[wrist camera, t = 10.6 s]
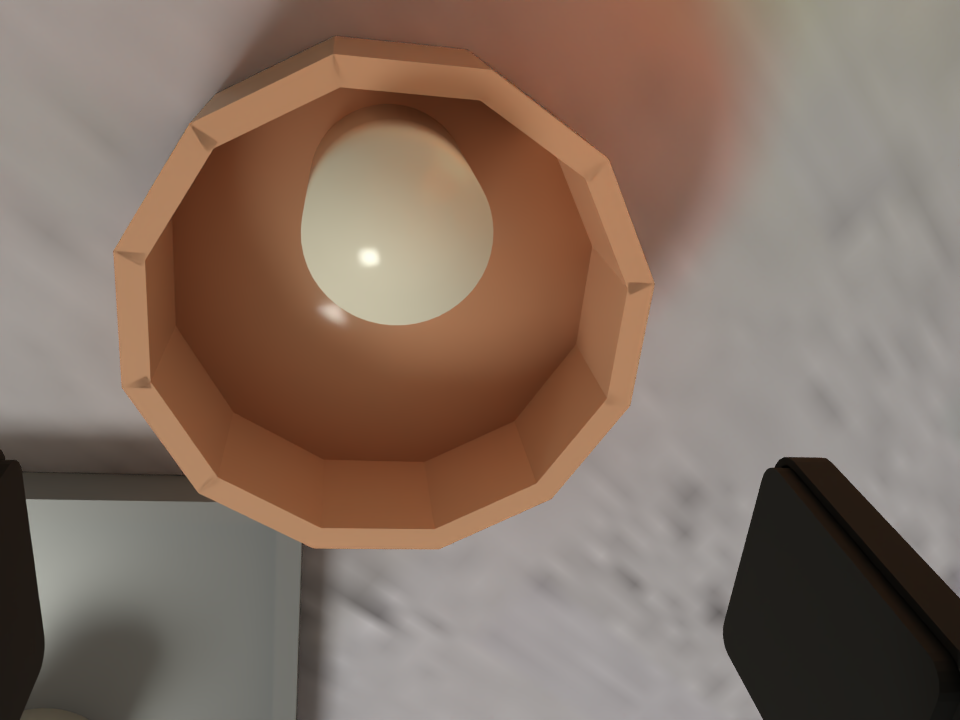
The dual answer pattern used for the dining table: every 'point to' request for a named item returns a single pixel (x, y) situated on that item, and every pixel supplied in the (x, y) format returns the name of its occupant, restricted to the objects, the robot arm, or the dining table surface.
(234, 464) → the bowl
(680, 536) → the dining table surface
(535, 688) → the dining table surface
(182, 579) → the parts tray
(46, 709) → the pebble
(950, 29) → the dining table surface
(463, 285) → the pebble
